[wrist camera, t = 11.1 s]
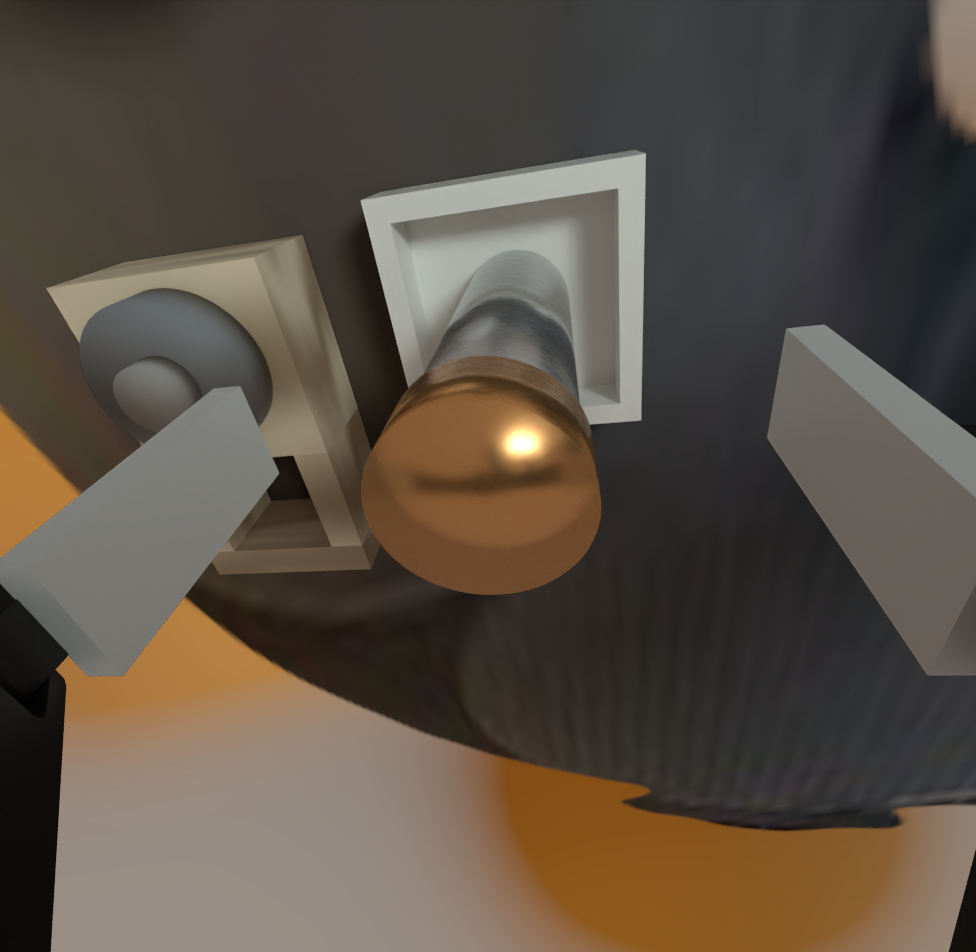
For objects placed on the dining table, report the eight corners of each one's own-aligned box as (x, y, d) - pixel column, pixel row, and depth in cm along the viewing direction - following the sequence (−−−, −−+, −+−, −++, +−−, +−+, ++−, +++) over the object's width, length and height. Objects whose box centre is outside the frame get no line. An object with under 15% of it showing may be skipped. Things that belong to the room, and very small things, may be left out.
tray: (381, 191, 19) (360, 200, 17) (634, 149, 17) (645, 153, 15) (432, 410, 24) (421, 438, 22) (632, 392, 22) (641, 420, 20)
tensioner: (123, 262, 21) (-21, 311, 16) (302, 234, 20) (210, 277, 15) (257, 523, 29) (189, 615, 24) (392, 515, 28) (353, 611, 22)
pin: (452, 252, 19) (329, 414, 9) (571, 235, 19) (597, 390, 8) (471, 363, 22) (394, 597, 11) (577, 352, 21) (604, 592, 10)
